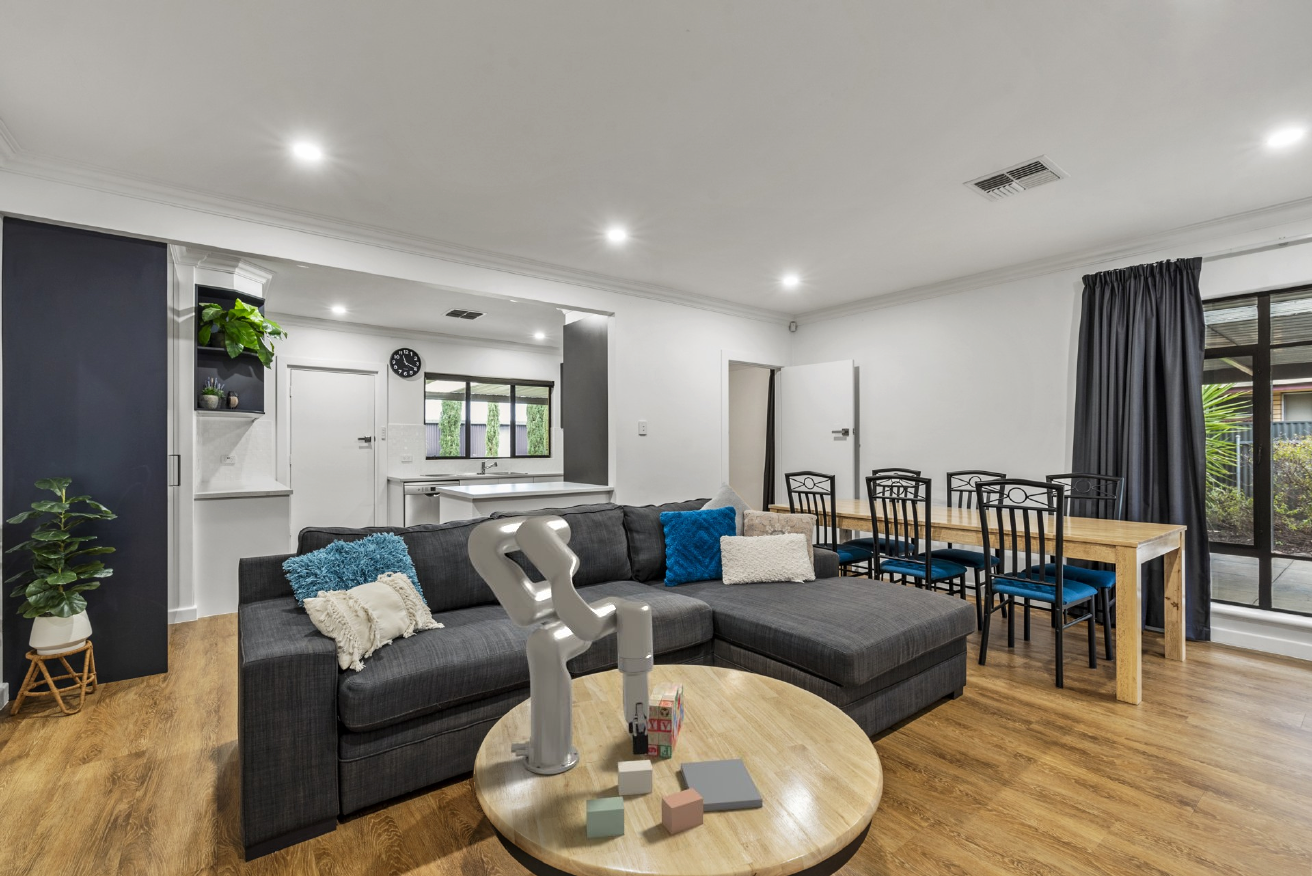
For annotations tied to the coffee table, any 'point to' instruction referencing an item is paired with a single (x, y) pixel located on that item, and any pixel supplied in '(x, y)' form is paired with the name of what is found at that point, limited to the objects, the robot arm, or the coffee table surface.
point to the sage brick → (605, 817)
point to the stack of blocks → (664, 719)
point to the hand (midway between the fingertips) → (638, 742)
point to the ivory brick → (634, 777)
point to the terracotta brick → (682, 810)
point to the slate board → (722, 784)
